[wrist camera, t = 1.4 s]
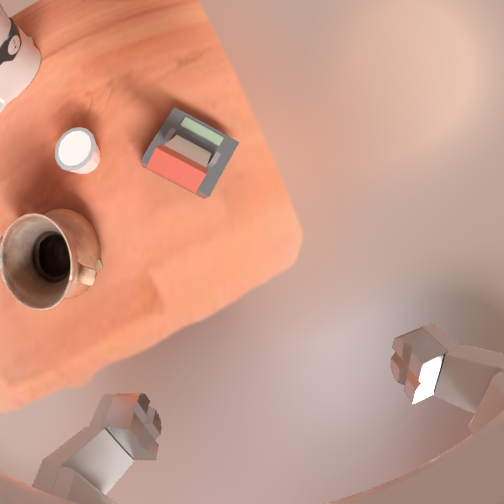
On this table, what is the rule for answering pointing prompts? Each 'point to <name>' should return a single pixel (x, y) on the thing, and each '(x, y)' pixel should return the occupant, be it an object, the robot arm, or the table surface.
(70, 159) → the shot glass
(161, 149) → the lever
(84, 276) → the ceramic jug
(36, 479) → the robot arm
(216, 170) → the switch box
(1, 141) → the table surface
